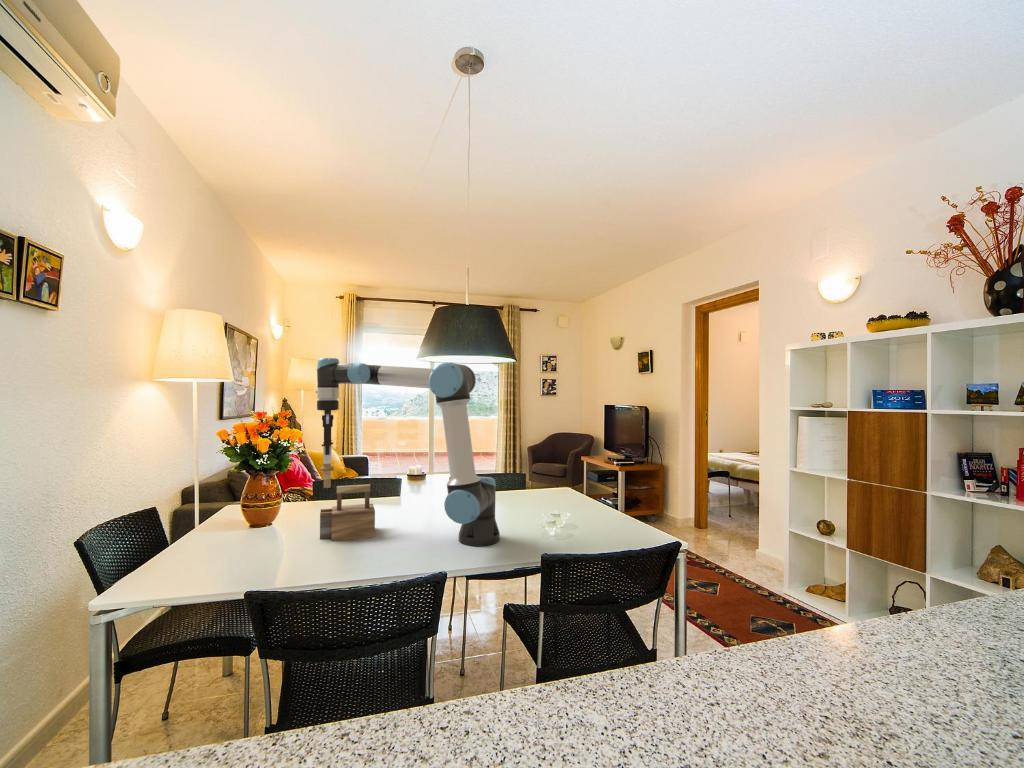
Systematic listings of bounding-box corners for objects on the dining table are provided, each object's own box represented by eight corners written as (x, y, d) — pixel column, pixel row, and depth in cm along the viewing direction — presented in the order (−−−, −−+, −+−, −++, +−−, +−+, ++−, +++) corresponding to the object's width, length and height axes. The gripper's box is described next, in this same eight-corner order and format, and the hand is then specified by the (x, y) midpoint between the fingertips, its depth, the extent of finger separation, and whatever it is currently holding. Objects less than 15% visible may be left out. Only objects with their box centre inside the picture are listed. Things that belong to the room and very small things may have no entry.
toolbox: (374, 536, 174) (374, 515, 174) (319, 542, 167) (319, 519, 167) (372, 527, 185) (372, 507, 185) (320, 532, 178) (320, 511, 178)
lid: (374, 515, 174) (375, 487, 174) (319, 519, 167) (320, 491, 167) (372, 507, 185) (373, 481, 185) (320, 511, 178) (321, 484, 178)
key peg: (333, 487, 172) (333, 443, 172) (320, 488, 171) (320, 443, 171) (333, 485, 176) (333, 442, 177) (320, 486, 175) (321, 442, 175)
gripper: (317, 399, 180) (317, 460, 180) (316, 400, 165) (315, 466, 165) (338, 399, 182) (338, 459, 182) (338, 400, 168) (338, 465, 168)
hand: (327, 462), depth 174 cm, fingers closed on key peg, 2 cm apart
